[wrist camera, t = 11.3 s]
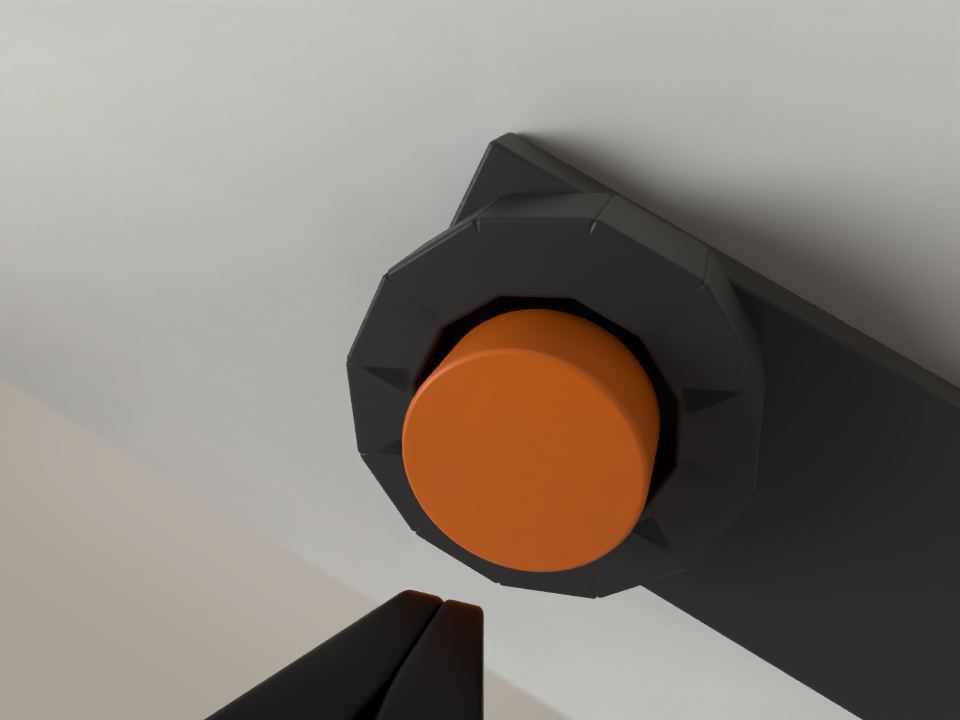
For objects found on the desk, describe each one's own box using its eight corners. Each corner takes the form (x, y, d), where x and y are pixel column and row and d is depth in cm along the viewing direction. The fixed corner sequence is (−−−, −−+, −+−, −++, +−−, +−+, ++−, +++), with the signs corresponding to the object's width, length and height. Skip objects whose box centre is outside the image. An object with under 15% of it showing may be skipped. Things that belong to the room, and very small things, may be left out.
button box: (1324, 577, 13) (1477, 726, 10) (1019, 786, 16) (1075, 942, 13) (503, 109, 14) (445, 131, 11) (368, 393, 17) (298, 464, 14)
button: (707, 386, 12) (702, 442, 10) (588, 546, 13) (568, 615, 12) (497, 263, 12) (461, 300, 10) (406, 437, 14) (364, 490, 12)
